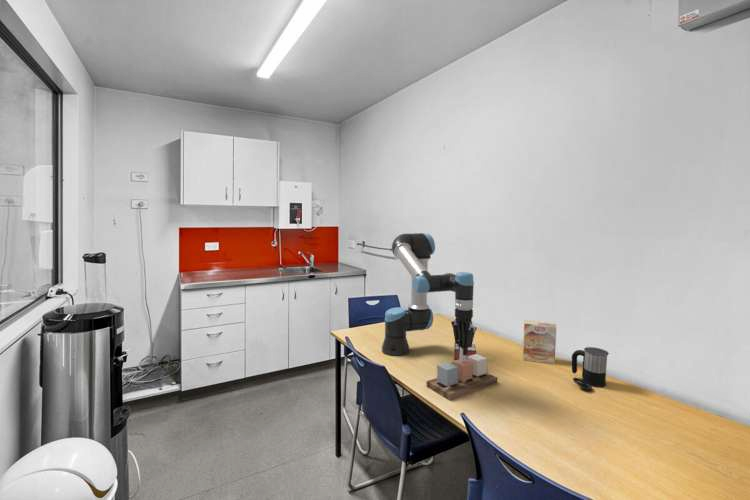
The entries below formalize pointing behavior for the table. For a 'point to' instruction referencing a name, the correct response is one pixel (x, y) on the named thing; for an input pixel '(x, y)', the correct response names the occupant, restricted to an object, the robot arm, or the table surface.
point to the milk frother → (591, 367)
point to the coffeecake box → (539, 341)
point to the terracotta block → (464, 370)
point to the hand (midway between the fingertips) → (462, 361)
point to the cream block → (478, 364)
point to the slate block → (447, 374)
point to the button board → (462, 386)
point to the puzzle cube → (470, 352)
